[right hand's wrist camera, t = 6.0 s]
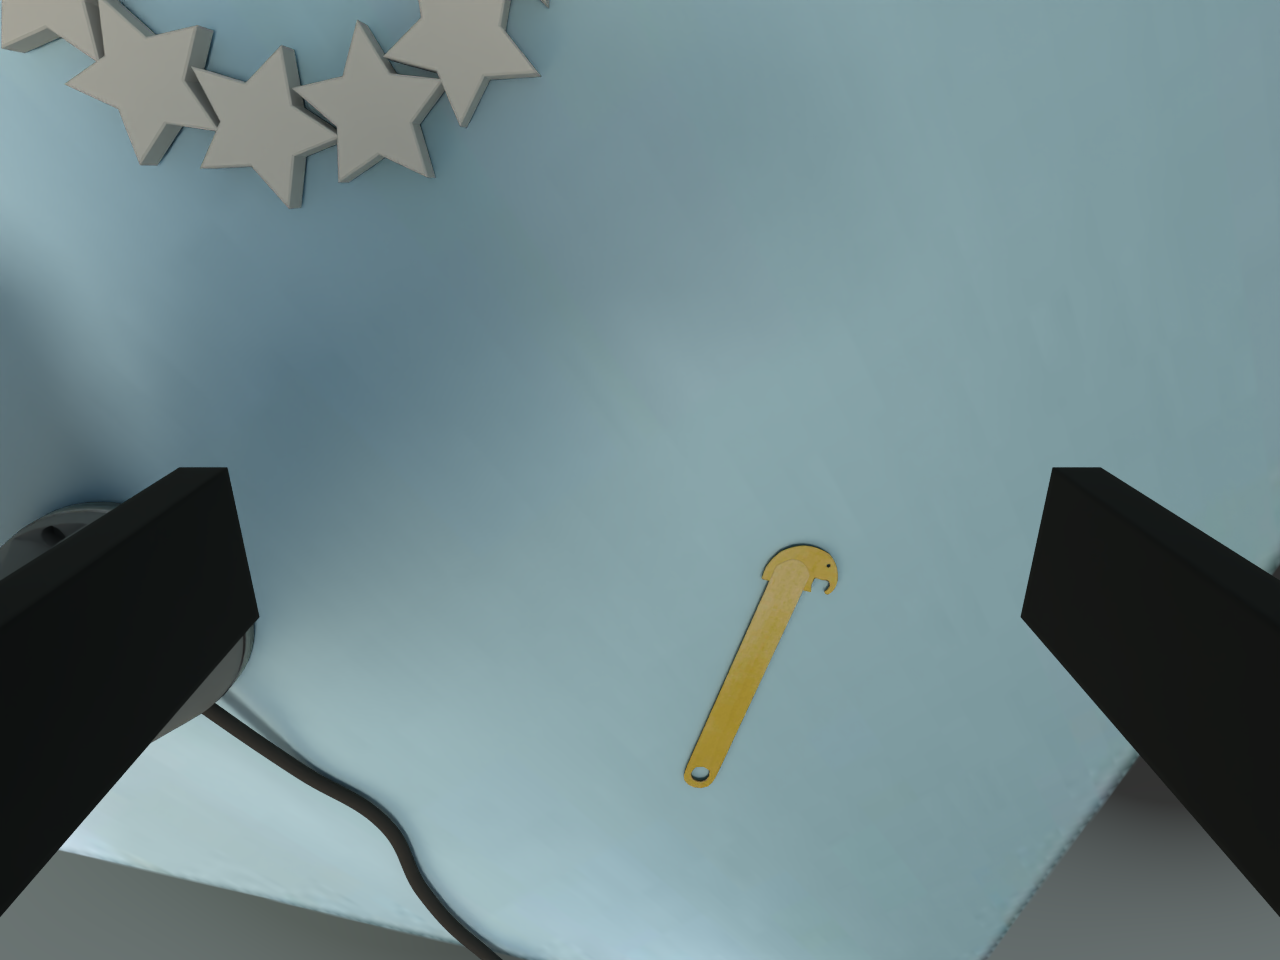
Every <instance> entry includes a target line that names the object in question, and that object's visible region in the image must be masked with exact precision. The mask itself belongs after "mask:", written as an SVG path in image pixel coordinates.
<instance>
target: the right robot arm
mask: <svg viewBox="0 0 1280 960" xmlns="http://www.w3.org/2000/svg"><path fill="white" fill-rule="evenodd" d="M258 618H259V613H258V608H257V603H256V599H255V594H254V589H253V585H252V580H251V575H250V571H249V566H248V561H247V557H246V552H245V547H244V543H243V538H242V533H241V529H240V524H239V519H238V515H237V510H236V505H235V501H234V496H233V491H232V487H231V482H230V477H229V473H228V468H227V467H179V468H178V469H176V470H174V471H173V472H171V473H170V474H168V475H167V476H165V477H163V478H162V479H160V480H159V481H157V482H155V483H154V484H152V485H151V486H149V487H147V488H146V489H144V490H143V491H141V492H140V493H138V494H136V495H135V496H133V497H132V498H130V499H128V500H127V501H125V502H124V503H122V504H121V503H113V502H88V503H81V504H74V505H71V506H67V507H63V508H60V509H58V510H55V511H53V512H51V513H49V514H47V515H45V516H43V517H41V518H39V519H38V520H36V521H34V522H32V523H31V524H29V525H27V526H26V527H24V528H23V529H21V530H20V531H19V532H17V533H16V534H15V535H14V536H13V537H12V538H10V539H9V540H8V541H7V542H6V543H5V544H4V545H3V546H2V547H1V548H0V917H1V915H2V914H3V913H4V912H5V911H6V910H7V908H8V907H9V906H10V905H11V904H12V903H13V902H14V900H15V899H16V898H17V897H18V896H19V895H20V893H21V892H22V891H23V890H24V889H25V888H26V887H27V885H28V884H29V883H30V882H31V881H32V880H33V878H34V877H35V876H36V875H37V874H38V873H39V871H40V870H41V869H42V868H43V867H44V866H45V865H46V863H47V862H48V861H49V860H50V859H51V858H52V856H53V855H54V854H55V853H56V852H57V851H58V849H59V848H60V847H61V846H62V845H63V844H64V843H65V841H66V840H67V839H68V838H69V837H70V836H71V834H72V833H73V832H74V831H75V830H76V829H77V827H78V826H79V825H80V824H81V823H82V822H83V821H84V819H85V818H86V817H87V816H88V815H89V814H90V812H91V811H92V810H93V809H94V808H95V807H96V805H97V804H98V803H99V802H100V801H101V800H102V799H103V797H104V796H105V795H106V794H107V793H108V792H109V790H110V789H111V788H112V787H113V786H114V785H115V784H116V782H117V781H118V780H119V779H120V778H121V777H122V775H123V774H124V773H125V772H126V771H127V770H128V768H129V767H130V766H131V765H132V764H133V763H134V762H135V760H136V759H137V758H138V757H139V756H140V755H141V753H142V752H143V751H144V750H145V749H146V748H147V746H148V745H149V744H150V743H151V742H153V741H155V740H157V739H158V738H160V737H162V736H164V735H165V734H167V733H169V732H171V731H172V730H174V729H176V728H178V727H179V726H181V725H183V724H185V723H186V722H188V721H190V720H191V719H193V718H195V717H197V716H198V715H200V714H203V715H204V716H206V717H207V718H209V719H210V720H212V721H213V722H214V723H216V724H217V725H219V726H220V727H222V728H223V729H225V730H226V731H227V732H229V733H230V734H232V735H233V736H235V737H236V738H238V739H239V740H240V741H242V742H243V743H245V744H246V745H248V746H249V747H251V748H252V749H254V750H255V751H257V752H258V753H260V754H261V755H263V756H264V757H266V758H267V759H269V760H270V761H272V762H273V763H275V764H276V765H278V766H279V767H281V768H282V769H284V770H285V771H287V772H288V773H290V774H292V775H293V776H295V777H296V778H298V779H299V780H301V781H303V782H304V783H306V784H308V785H309V786H311V787H313V788H315V789H317V790H318V791H320V792H322V793H324V794H326V795H328V796H330V797H332V798H334V799H336V800H338V801H340V802H342V803H343V804H345V805H347V806H349V807H351V808H352V809H354V810H356V811H357V812H359V813H360V814H362V815H363V816H364V817H366V818H367V819H368V820H370V821H371V822H372V823H373V824H374V825H375V826H376V827H378V828H379V829H380V831H381V832H382V833H383V834H384V835H385V836H386V837H387V839H388V840H389V842H390V843H391V845H392V846H393V848H394V850H395V852H396V854H397V856H398V858H399V861H400V863H401V866H402V868H403V871H404V873H405V875H406V878H407V880H408V882H409V884H410V885H411V887H412V889H413V890H414V892H415V893H416V895H417V896H418V897H419V899H420V900H421V901H422V903H423V904H424V905H425V906H426V908H427V909H428V910H429V911H430V913H431V914H432V915H433V916H434V917H435V918H436V920H437V921H438V922H439V923H440V924H441V925H442V926H443V927H444V928H445V929H446V930H447V931H448V932H449V933H450V934H451V935H452V936H453V937H454V938H456V939H457V940H458V941H459V942H460V943H461V944H463V945H464V946H465V947H466V948H468V949H469V950H470V951H472V952H473V953H474V954H475V955H477V956H478V957H479V958H480V959H481V960H502V959H501V958H500V957H499V956H497V955H496V954H495V953H494V952H493V951H492V950H491V949H489V948H488V947H487V946H486V945H485V944H484V943H482V942H481V941H480V940H479V939H477V938H476V937H475V936H474V935H472V934H471V933H470V932H469V931H468V930H466V929H465V928H464V927H463V926H462V925H461V924H460V923H459V922H458V921H457V920H456V919H455V918H454V917H453V916H452V915H451V914H450V913H449V912H448V911H447V910H446V909H445V907H444V906H443V905H442V904H441V903H440V901H439V900H438V899H437V898H436V896H435V895H434V894H433V892H432V891H431V890H430V888H429V887H428V886H427V884H426V883H425V881H424V880H423V878H422V876H421V874H420V872H419V870H418V868H417V866H416V863H415V861H414V858H413V856H412V853H411V851H410V848H409V846H408V844H407V842H406V840H405V838H404V837H403V835H402V833H401V832H400V830H399V829H398V828H397V826H396V825H395V824H394V823H393V822H392V821H391V820H390V819H389V818H388V817H387V816H386V815H385V814H384V813H383V812H382V811H381V810H380V809H378V808H377V807H376V806H374V805H373V804H372V803H370V802H369V801H367V800H366V799H364V798H363V797H361V796H359V795H358V794H356V793H354V792H352V791H350V790H349V789H347V788H345V787H343V786H341V785H339V784H337V783H335V782H333V781H331V780H329V779H328V778H326V777H324V776H322V775H320V774H319V773H317V772H315V771H314V770H312V769H310V768H309V767H307V766H306V765H304V764H303V763H301V762H299V761H298V760H296V759H295V758H293V757H292V756H290V755H289V754H287V753H286V752H284V751H283V750H282V749H280V748H279V747H277V746H276V745H274V744H273V743H271V742H270V741H268V740H267V739H265V738H264V737H263V736H261V735H260V734H258V733H257V732H255V731H254V730H252V729H251V728H250V727H248V726H247V725H245V724H244V723H242V722H241V721H240V720H238V719H237V718H235V717H234V716H233V715H231V714H230V713H228V712H227V711H226V710H224V709H223V708H221V707H220V706H218V705H217V704H216V703H215V702H217V701H218V700H219V699H220V698H221V697H222V696H223V695H224V694H225V693H226V692H227V691H228V689H229V688H230V687H231V686H232V685H233V683H234V682H235V681H236V680H237V678H238V677H239V676H240V674H241V673H242V671H243V670H244V668H245V666H246V664H247V662H248V660H249V657H250V654H251V651H252V646H253V640H254V623H255V622H256V620H257V619H258ZM1021 618H1022V619H1023V620H1024V622H1025V623H1026V624H1027V625H1028V626H1029V627H1030V628H1031V630H1032V631H1033V632H1034V633H1035V634H1036V635H1037V637H1038V638H1039V639H1040V640H1041V641H1042V642H1043V643H1044V645H1045V646H1046V647H1047V648H1048V649H1049V650H1050V652H1051V653H1052V654H1053V655H1054V656H1055V657H1056V659H1057V660H1058V661H1059V662H1060V663H1061V664H1062V665H1063V667H1064V668H1065V669H1066V670H1067V671H1068V672H1069V674H1070V675H1071V676H1072V677H1073V678H1074V679H1075V681H1076V682H1077V683H1078V684H1079V685H1080V686H1081V687H1082V689H1083V690H1084V691H1085V692H1086V693H1087V694H1088V696H1089V697H1090V698H1091V699H1092V700H1093V701H1094V703H1095V704H1096V705H1097V706H1098V707H1099V708H1100V709H1101V711H1102V712H1103V713H1104V714H1105V715H1106V716H1107V718H1108V719H1109V720H1110V721H1111V722H1112V723H1113V724H1114V726H1115V727H1116V728H1117V729H1118V730H1119V731H1120V733H1121V734H1122V735H1123V736H1124V737H1125V738H1126V740H1127V741H1128V742H1129V743H1130V744H1131V745H1132V746H1133V748H1134V749H1135V750H1136V751H1137V752H1138V753H1139V755H1140V756H1141V757H1142V758H1143V759H1144V760H1145V762H1146V763H1147V764H1148V765H1149V766H1150V767H1151V768H1152V770H1153V771H1154V772H1155V773H1156V774H1157V775H1158V776H1159V778H1160V779H1161V780H1162V781H1163V782H1164V784H1165V785H1166V786H1167V787H1168V788H1169V789H1170V790H1171V792H1172V793H1173V794H1174V795H1175V796H1176V797H1177V799H1178V800H1179V801H1180V802H1181V803H1182V804H1183V805H1184V807H1185V808H1186V809H1187V810H1188V811H1189V812H1190V814H1191V815H1192V816H1193V817H1194V818H1195V819H1196V821H1197V822H1198V823H1199V824H1200V825H1201V826H1202V827H1203V829H1204V830H1205V831H1206V832H1207V833H1208V834H1209V836H1210V837H1211V838H1212V839H1213V840H1214V841H1215V843H1216V844H1217V845H1218V846H1219V847H1220V848H1221V849H1222V851H1223V852H1224V853H1225V854H1226V855H1227V856H1228V858H1229V859H1230V860H1231V861H1232V862H1233V863H1234V865H1235V866H1236V867H1237V868H1238V869H1239V870H1240V871H1241V873H1242V874H1243V875H1244V876H1245V877H1246V878H1247V879H1248V881H1249V882H1250V883H1251V884H1252V885H1253V887H1254V888H1255V889H1256V890H1257V891H1258V892H1259V893H1260V895H1261V896H1262V897H1263V898H1264V899H1265V900H1266V902H1267V903H1268V904H1269V905H1270V906H1271V907H1272V908H1273V910H1274V911H1275V912H1276V913H1277V914H1278V915H1279V917H1280V580H1278V579H1277V578H1275V577H1273V576H1272V575H1270V574H1269V573H1267V572H1266V571H1264V570H1262V569H1261V568H1259V567H1258V566H1256V565H1254V564H1253V563H1251V562H1250V561H1248V560H1247V559H1245V558H1243V557H1242V556H1240V555H1239V554H1237V553H1235V552H1234V551H1232V550H1231V549H1229V548H1228V547H1226V546H1224V545H1223V544H1221V543H1220V542H1218V541H1216V540H1215V539H1213V538H1212V537H1210V536H1209V535H1207V534H1205V533H1204V532H1202V531H1201V530H1199V529H1197V528H1196V527H1194V526H1193V525H1191V524H1190V523H1188V522H1186V521H1185V520H1183V519H1182V518H1180V517H1178V516H1177V515H1175V514H1174V513H1172V512H1171V511H1169V510H1167V509H1166V508H1164V507H1163V506H1161V505H1159V504H1158V503H1156V502H1155V501H1153V500H1152V499H1150V498H1148V497H1147V496H1145V495H1144V494H1142V493H1140V492H1139V491H1137V490H1136V489H1134V488H1133V487H1131V486H1129V485H1128V484H1126V483H1125V482H1123V481H1121V480H1120V479H1118V478H1117V477H1115V476H1113V475H1112V474H1110V473H1109V472H1107V471H1106V470H1104V469H1102V468H1101V467H1053V468H1052V473H1051V477H1050V482H1049V487H1048V491H1047V496H1046V501H1045V505H1044V510H1043V515H1042V519H1041V524H1040V529H1039V533H1038V538H1037V543H1036V547H1035V552H1034V557H1033V561H1032V566H1031V571H1030V575H1029V580H1028V585H1027V589H1026V594H1025V599H1024V603H1023V608H1022V613H1021Z"/></svg>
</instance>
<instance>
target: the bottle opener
mask: <svg viewBox="0 0 1280 960" xmlns="http://www.w3.org/2000/svg"><path fill="white" fill-rule="evenodd" d="M827 564H830V567H827ZM815 578H818V579H821V580H826V581H828V582H829V583H830V586H829V588H828V589H827V590H825V591H824V592H825V594H829V593H831V592H832V591H833V590H834V588H835V587H836V584H837V581H838V573H837V567H836V564H835V562H834V560H833V559H832V557H831V556H830V554H829V553H827V552H825V551H823V550H821V549H819V548H816V547H812V546H805V545H803V546H794V547H791V548H788V549H785V550H783V551H780V552H779V553H778V554H777V555H776V556H775V557H774V558H773V559H772V560H771V561H770V562H769V563H768V565H767V566H766V568H765V570H764V573H763V575H762V579H764V580H768V581H769V583H768V585H767V587H766V590H765V592H764V594H763V596H762V599H761V601H760V603H759V605H758V607H757V610H756V612H755V614H754V616H753V619H752V621H751V623H750V625H749V628H748V630H747V632H746V634H745V637H744V639H743V641H742V643H741V646H740V648H739V650H738V652H737V655H736V657H735V659H734V661H733V664H732V666H731V668H730V670H729V673H728V675H727V677H726V679H725V682H724V684H723V686H722V688H721V691H720V693H719V695H718V697H717V700H716V702H715V704H714V706H713V709H712V711H711V713H710V715H709V718H708V720H707V722H706V724H705V726H704V729H703V731H702V733H701V735H700V738H699V740H698V742H697V744H696V747H695V749H694V751H693V753H692V756H691V758H690V760H689V763H688V765H687V767H686V770H685V773H684V780H685V781H686V782H687V783H688V785H691V786H693V787H697V788H703V787H707V786H709V785H710V784H711V783H712V782H713V780H714V779H715V777H716V775H717V773H718V771H719V769H720V767H721V765H722V763H723V761H724V758H725V756H726V754H727V752H728V750H729V748H730V746H731V743H732V741H733V739H734V737H735V735H736V733H737V730H738V728H739V726H740V724H741V722H742V720H743V718H744V715H745V713H746V711H747V709H748V707H749V705H750V703H751V700H752V698H753V696H754V694H755V692H756V690H757V688H758V685H759V683H760V681H761V679H762V677H763V675H764V673H765V670H766V668H767V666H768V664H769V662H770V660H771V658H772V655H773V653H774V651H775V649H776V647H777V645H778V643H779V640H780V638H781V636H782V634H783V632H784V630H785V628H786V625H787V623H788V621H789V619H790V617H791V615H792V613H793V610H794V608H795V606H796V604H797V602H798V600H799V598H800V595H801V593H802V591H803V590H804V591H808V592H811V584H812V582H813V580H814V579H815ZM696 767H705V768H707V769H708V770H709V771H710V774H709V777H708V778H707V779H705V780H702V781H698V780H695V779H693V778H692V776H691V772H692V771H693V769H694V768H696Z"/></svg>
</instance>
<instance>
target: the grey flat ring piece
mask: <svg viewBox="0 0 1280 960" xmlns="http://www.w3.org/2000/svg"><path fill="white" fill-rule="evenodd" d="M541 1H542V2H543V3H544V4H545V5H546V6H547V7H548V8H549V0H541ZM510 3H511V0H419V7H420V13H421V18H420V19H419V20H418V21H417V22H416V23H415V24H414V25H413V26H412V27H411V28H410V29H409V30H408V31H407V32H406V33H405V34H404V35H403V36H402V37H401V38H400V39H399V41H398V42H397V43H396V44H395V45H394V46H393V47H392V48H391V49H390V50H389V51H388V52H387V53H386V54H384V52H383V50H382V49H381V47H380V45H379V44H378V42H377V40H376V39H375V37H374V35H373V34H372V32H371V30H370V29H369V27H368V25H366V24H364V23H362V22H360V21H359V20H357V22H356V26H355V30H354V34H353V37H352V41H351V45H350V49H349V53H348V57H347V61H346V64H345V68H344V72H343V76H341V77H337V78H333V79H328V80H324V81H320V82H315V83H311V84H307V85H303V86H300V80H299V74H298V69H297V63H296V57H295V51H294V49H291V48H288V47H285V46H283V45H281V46H280V47H279V48H278V49H277V50H276V51H275V52H274V53H273V54H272V55H271V56H270V57H269V59H268V60H267V61H266V62H265V63H264V64H263V65H262V66H261V67H260V68H259V69H258V70H257V71H256V72H255V73H254V74H253V76H252V77H251V78H250V79H249V80H248V81H247V82H244V81H241V80H237V79H234V78H231V77H228V76H224V75H221V74H218V73H215V72H212V71H208V70H205V69H204V68H205V64H206V60H207V56H208V52H209V48H210V43H211V39H212V35H213V30H210V29H207V28H204V27H201V26H198V25H196V26H192V27H188V28H183V29H179V30H175V31H171V32H166V33H162V34H158V35H156V34H155V33H153V32H152V31H151V30H150V29H149V28H148V27H147V26H146V25H145V24H143V23H142V22H141V21H140V20H139V19H138V18H137V17H136V16H135V15H133V14H132V13H131V12H130V11H129V10H128V9H127V8H126V7H125V6H123V5H122V4H121V3H120V2H119V1H118V0H2V49H7V50H12V51H17V52H22V53H26V52H28V51H30V50H33V49H35V48H37V47H39V46H42V45H44V44H46V43H48V42H51V41H53V40H55V39H57V38H60V37H62V38H63V39H65V40H66V41H67V42H69V43H70V44H72V45H73V46H75V47H76V48H78V49H79V50H81V51H82V52H84V53H85V54H86V55H88V56H89V57H91V58H92V59H94V60H95V61H96V62H95V63H93V64H92V65H91V66H89V67H88V68H86V69H85V70H83V71H82V72H81V73H79V74H78V75H76V76H75V77H74V78H72V79H71V80H69V81H68V82H66V83H65V85H67V86H69V87H72V88H74V89H76V90H78V91H80V92H82V93H85V94H87V95H89V96H91V97H93V98H95V99H98V100H100V101H102V102H104V103H106V104H108V105H111V106H113V107H115V108H117V109H118V110H119V112H120V115H121V117H122V120H123V123H124V125H125V128H126V130H127V133H128V136H129V138H130V141H131V143H132V146H133V148H134V151H135V154H136V156H137V159H138V161H139V164H140V165H153V166H157V165H158V164H159V162H160V160H161V159H162V157H163V156H164V154H165V153H166V151H167V150H168V148H169V147H170V145H171V143H172V142H173V140H174V139H175V137H176V136H177V134H178V133H179V131H180V129H181V128H182V126H185V127H192V128H198V129H205V130H212V131H216V132H215V135H214V137H213V139H212V142H211V144H210V146H209V149H208V151H207V153H206V156H205V158H204V160H203V162H202V165H201V167H200V168H204V169H219V168H238V167H252V168H253V169H254V170H255V171H256V172H257V173H258V174H259V176H260V177H261V178H262V179H263V180H264V181H265V182H266V183H267V185H268V186H269V187H270V188H271V189H272V190H273V191H274V192H275V194H276V195H277V196H278V197H279V198H280V199H281V200H282V201H283V203H284V204H285V205H286V206H287V207H288V208H289V209H294V208H301V203H302V193H303V184H304V174H305V164H306V157H307V156H309V155H312V154H314V153H317V152H319V151H321V150H324V149H326V148H329V147H331V146H334V145H336V144H337V151H338V183H349V182H350V181H352V180H353V179H355V178H356V177H357V176H359V175H360V174H362V173H363V172H365V171H366V170H368V169H369V168H371V167H372V166H373V165H375V164H376V163H378V162H379V161H381V160H382V159H384V158H387V159H390V160H392V161H394V162H396V163H398V164H400V165H402V166H404V167H407V168H409V169H411V170H413V171H415V172H417V173H419V174H421V175H424V176H426V177H428V178H436V177H435V174H434V171H433V167H432V164H431V160H430V157H429V154H428V150H427V147H426V144H425V140H424V137H423V134H422V130H421V127H420V124H421V122H422V121H423V120H424V118H425V117H426V116H427V114H428V113H429V111H430V110H431V109H432V107H433V106H434V105H435V103H436V102H437V101H438V99H439V98H440V97H441V95H442V94H443V92H444V91H445V92H446V94H447V97H448V99H449V101H450V104H451V106H452V108H453V111H454V113H455V115H456V118H457V120H458V122H459V125H460V126H461V127H465V128H467V126H468V124H469V122H470V120H471V118H472V116H473V114H474V112H475V110H476V108H477V105H478V103H479V101H480V99H481V97H482V95H483V93H484V91H485V89H486V87H487V85H488V83H489V81H490V80H495V79H511V78H528V77H541V75H540V74H539V73H538V72H537V70H536V69H535V68H534V67H533V65H532V64H531V63H530V62H529V60H528V59H527V58H526V56H525V55H524V54H523V53H522V51H521V50H520V49H519V48H518V46H517V45H516V44H515V43H514V41H513V40H512V39H511V38H510V36H509V35H508V34H507V32H506V26H507V21H508V15H509V9H510ZM388 59H389V60H391V61H394V62H398V63H402V64H405V65H409V66H413V67H416V68H420V69H424V70H428V71H431V72H435V73H438V76H439V78H440V79H436V78H427V77H418V76H409V75H400V74H397V73H396V72H395V70H394V68H393V67H392V65H391V63H390V62H389V60H388ZM303 98H304V99H305V100H306V101H307V102H309V103H310V104H311V105H312V106H313V107H314V108H315V109H317V110H318V111H319V112H320V113H321V114H322V115H324V116H325V117H326V118H327V119H328V120H329V121H331V122H332V123H333V124H334V125H335V126H336V127H337V129H336V128H334V127H333V126H331V125H330V124H328V123H327V122H325V121H324V120H322V119H321V118H319V117H318V116H316V115H315V114H313V113H312V112H310V111H309V110H307V109H305V108H304V103H303Z"/></svg>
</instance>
